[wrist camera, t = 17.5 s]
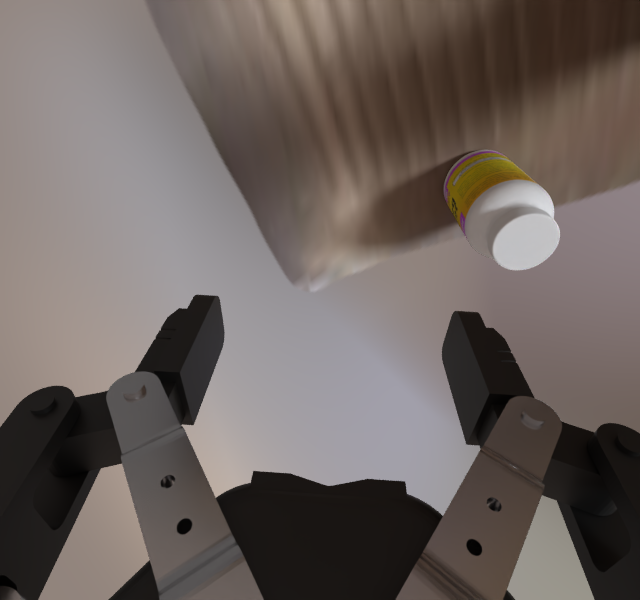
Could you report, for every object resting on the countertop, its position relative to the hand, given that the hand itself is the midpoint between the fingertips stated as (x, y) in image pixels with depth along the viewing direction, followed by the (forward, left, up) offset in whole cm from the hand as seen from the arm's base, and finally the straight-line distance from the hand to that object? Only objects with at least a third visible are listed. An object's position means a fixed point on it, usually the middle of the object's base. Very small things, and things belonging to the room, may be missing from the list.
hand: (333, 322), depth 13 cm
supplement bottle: (-8, +12, -28) cm, 32 cm away
